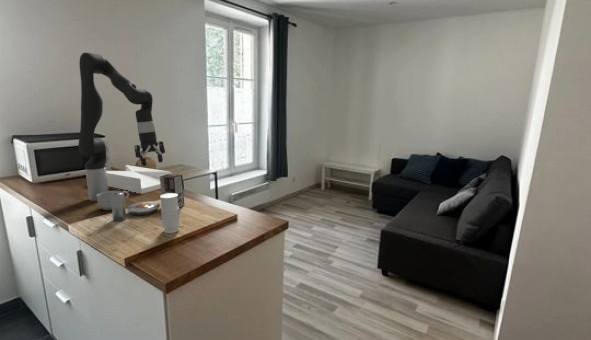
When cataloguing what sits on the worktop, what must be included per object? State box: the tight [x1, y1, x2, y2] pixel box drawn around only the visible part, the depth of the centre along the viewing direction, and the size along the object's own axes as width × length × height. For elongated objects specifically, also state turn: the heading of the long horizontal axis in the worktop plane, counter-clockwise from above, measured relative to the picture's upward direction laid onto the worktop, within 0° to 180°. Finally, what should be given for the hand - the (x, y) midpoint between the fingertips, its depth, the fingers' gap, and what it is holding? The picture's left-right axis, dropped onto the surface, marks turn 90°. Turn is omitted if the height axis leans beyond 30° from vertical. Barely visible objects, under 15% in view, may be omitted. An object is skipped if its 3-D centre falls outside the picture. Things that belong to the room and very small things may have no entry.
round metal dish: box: [126, 200, 161, 217], centre depth 150 cm, size 14×14×3 cm
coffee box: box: [160, 173, 185, 208], centre depth 158 cm, size 9×6×16 cm
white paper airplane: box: [106, 164, 173, 195], centre depth 199 cm, size 45×22×10 cm, turn 63°
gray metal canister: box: [110, 191, 127, 223], centre depth 139 cm, size 5×5×12 cm
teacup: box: [96, 190, 130, 211], centre depth 155 cm, size 14×11×8 cm
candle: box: [159, 193, 181, 234], centre depth 128 cm, size 7×7×15 cm
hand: (152, 164), depth 155 cm, fingers open, 8 cm apart
